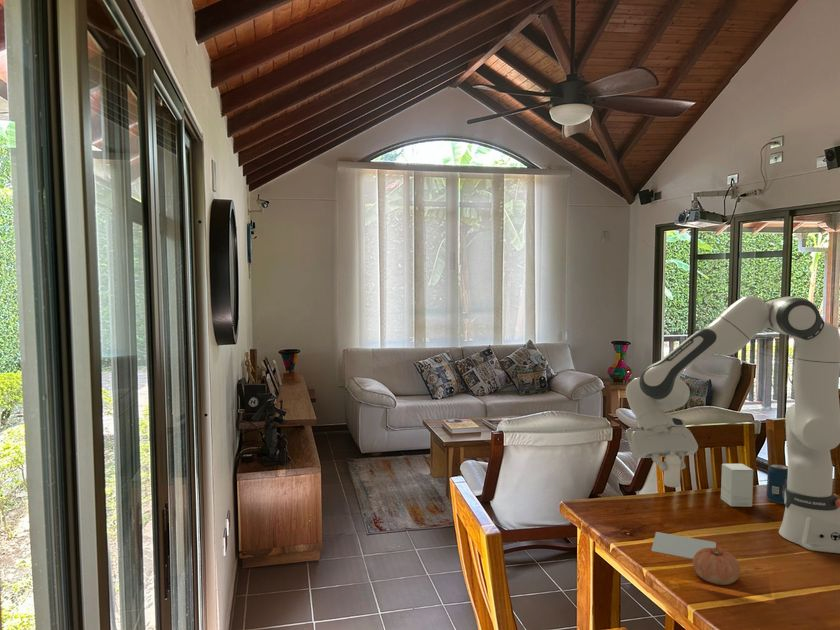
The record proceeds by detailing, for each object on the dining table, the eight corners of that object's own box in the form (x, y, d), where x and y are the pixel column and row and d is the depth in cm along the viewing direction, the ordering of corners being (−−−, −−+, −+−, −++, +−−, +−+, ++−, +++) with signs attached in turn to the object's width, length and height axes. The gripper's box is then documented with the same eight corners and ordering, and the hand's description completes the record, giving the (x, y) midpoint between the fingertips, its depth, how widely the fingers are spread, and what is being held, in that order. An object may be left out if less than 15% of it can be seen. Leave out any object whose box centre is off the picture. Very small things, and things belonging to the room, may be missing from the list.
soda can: (770, 495, 212) (771, 461, 211) (792, 500, 207) (794, 466, 206) (763, 500, 207) (764, 465, 206) (786, 505, 202) (787, 470, 201)
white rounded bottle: (680, 483, 175) (681, 450, 174) (679, 488, 171) (680, 454, 170) (663, 481, 177) (665, 448, 176) (662, 485, 173) (663, 452, 172)
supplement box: (752, 507, 201) (754, 469, 200) (730, 506, 201) (731, 469, 200) (741, 498, 208) (742, 463, 207) (720, 498, 208) (721, 462, 208)
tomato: (686, 569, 158) (687, 539, 157) (729, 571, 157) (730, 541, 156) (701, 590, 147) (702, 559, 146) (747, 593, 146) (748, 561, 145)
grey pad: (715, 545, 172) (715, 542, 171) (715, 566, 159) (715, 563, 159) (655, 535, 179) (655, 531, 179) (651, 554, 166) (651, 550, 166)
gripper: (627, 422, 177) (645, 465, 169) (689, 419, 182) (709, 461, 173) (619, 433, 182) (636, 476, 173) (679, 430, 186) (699, 471, 177)
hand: (673, 468), depth 173 cm, fingers closed on white rounded bottle, 4 cm apart
